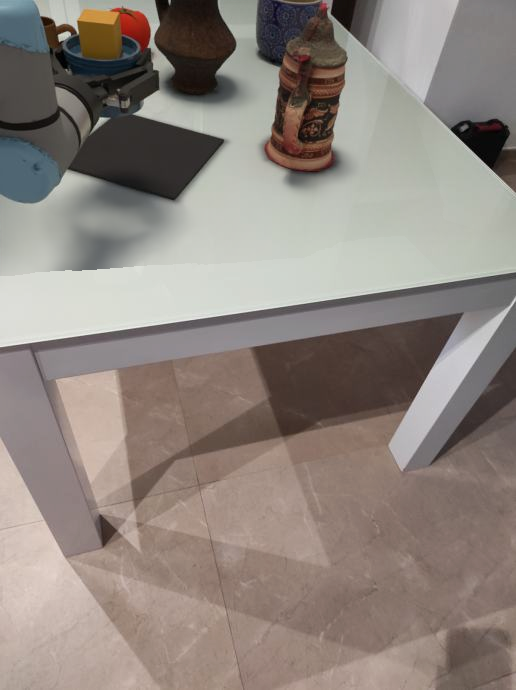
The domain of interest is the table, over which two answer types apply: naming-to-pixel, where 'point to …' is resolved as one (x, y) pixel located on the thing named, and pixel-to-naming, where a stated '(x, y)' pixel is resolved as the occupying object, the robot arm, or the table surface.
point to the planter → (282, 24)
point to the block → (100, 34)
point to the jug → (193, 42)
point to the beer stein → (308, 97)
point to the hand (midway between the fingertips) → (111, 51)
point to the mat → (145, 154)
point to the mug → (55, 31)
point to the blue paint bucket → (102, 67)
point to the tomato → (134, 26)
